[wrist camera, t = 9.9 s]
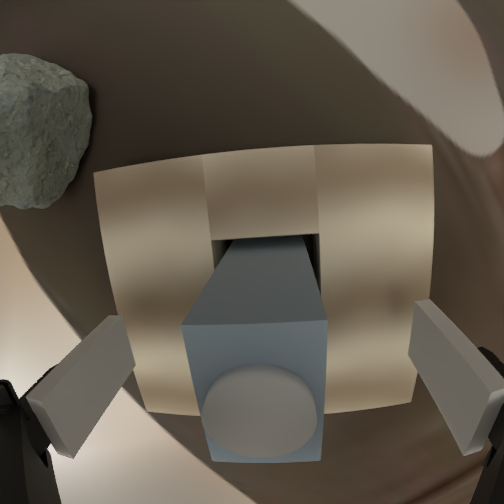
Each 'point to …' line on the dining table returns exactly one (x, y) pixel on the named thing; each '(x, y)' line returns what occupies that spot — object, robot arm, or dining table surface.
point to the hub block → (275, 224)
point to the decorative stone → (40, 130)
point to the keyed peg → (260, 353)
